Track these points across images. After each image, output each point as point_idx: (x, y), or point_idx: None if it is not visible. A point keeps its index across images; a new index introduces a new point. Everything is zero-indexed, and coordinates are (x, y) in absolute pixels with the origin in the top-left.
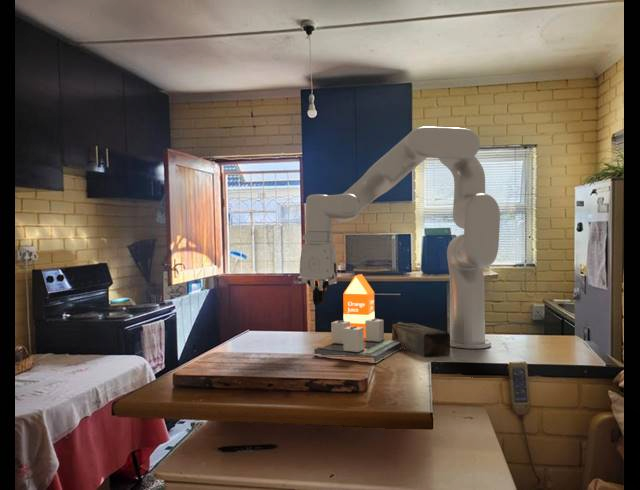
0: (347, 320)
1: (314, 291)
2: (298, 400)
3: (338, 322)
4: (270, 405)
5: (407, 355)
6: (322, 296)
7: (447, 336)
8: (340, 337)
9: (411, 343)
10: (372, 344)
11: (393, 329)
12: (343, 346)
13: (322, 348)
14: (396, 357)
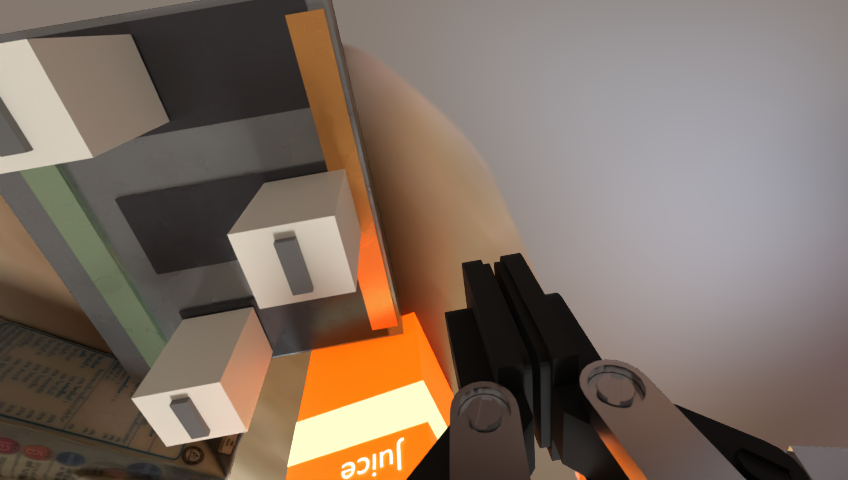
0: (403, 397)
1: (558, 345)
2: None
3: (287, 237)
4: None
5: (32, 289)
6: (452, 350)
7: None
8: (282, 190)
9: (45, 366)
10: (159, 261)
11: (220, 453)
12: (116, 35)
13: (279, 9)
14: (28, 234)
